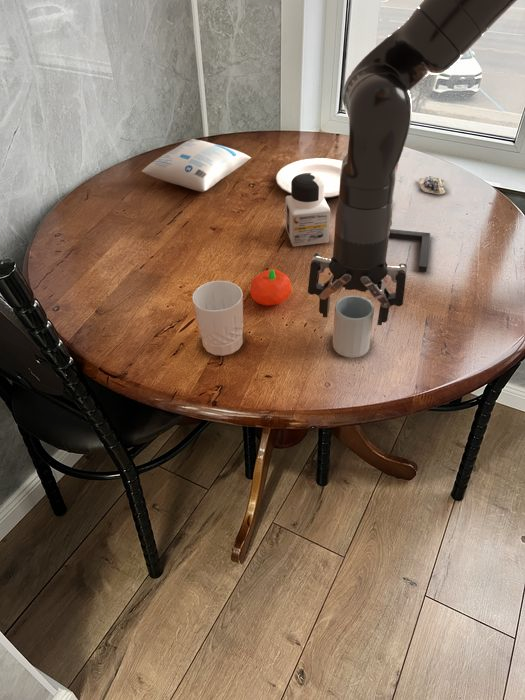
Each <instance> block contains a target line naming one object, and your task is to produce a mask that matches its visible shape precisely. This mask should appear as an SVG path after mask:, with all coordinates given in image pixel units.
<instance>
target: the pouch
mask: <svg viewBox="0 0 525 700" xmlns="http://www.w3.org/2000/svg"><path fill="white" fill-rule="evenodd" d="M251 158H252V157H251V156H249V155H248V154H246V153H244V152H242V151H239V150H236V149H234V148H230V147H228V146H224V145H220V144H216V143H212V142H210V141H209V142H208V141H204V140H200V139H194V138H192V139H188V140H186V141H185V142H182V143H180V144H179V145H178V146H176V147H175V148H173V149H171V150H170V151H168V152H165V153H164V154H162V155H161V156H159V157H157V158H156V159H154V160H153V161H152V162H150V163H149V164H148V165H146V166H145V167H144V168H143V169H142V170H141V173H144V174H146V175H148V176H150V177H152V178H154V179H158V180H161V181H164V182H167V183H170V184H172V185H177V186H181V187H184V188H186V189H190V190H192V191H195V192H196V191H197V192H200V193H204V192H207V191H208V190H209V189H211V188H212V187H214V186H215V185H216V184H217V183H219V182H220V181H221V180H223V179H224V178H225V177H227V176H229V175H231V174H232V173H233V172H234V171H236V170H238V169H239V168H240V167H242V166H243V165H244V164H246V163H247V162H248V161H250V159H251Z"/></svg>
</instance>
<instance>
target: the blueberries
mask: <svg viewBox="0 0 525 700" xmlns="http://www.w3.org/2000/svg"><path fill="white" fill-rule="evenodd" d="M418 184H419V188H420V189H421V191H422V192H424V193H430V194H433V195H438V196H441V195H444V194H445V193H446V190H445V188H444V187H445V182H444V179H442V178H438V177H433V176H430V175H429V176H426V177H424V178H423V177H422V178H421V177H420V178H418Z"/></svg>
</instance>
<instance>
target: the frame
mask: <svg viewBox="0 0 525 700" xmlns="http://www.w3.org/2000/svg"><path fill="white" fill-rule="evenodd" d="M430 236H431V232H425V231H424V232H423V231H422V232H421V231H415V230H403V229H393V228H390V234H389V239H397V240H408V241H416V242H417V241H418V242H420V249H419V250H420V251H419V261H418V269H417V271H418V272H422V273H427V270H428V264H429V263H428V262H429V250H430V238H431V237H430Z"/></svg>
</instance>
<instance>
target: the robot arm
mask: <svg viewBox="0 0 525 700" xmlns="http://www.w3.org/2000/svg"><path fill="white" fill-rule="evenodd" d="M517 1H518V0H423V1H421V3H419V5H418V7H417V8H416V9H415V10H414V11H413V13H412V14H411V15H410V16H409V18H408V19H407V20H406V21H405V22H404V23H403V24H402V25H401V26H400V27H398V28H397V29H396V30H394V31H393V32H392V33H391V34H389V35H388V36H387V37H386V38H385V39H383V40H382V41H381V42H380V43H379V44H377V46H376V47H374V48H373V49H372V50H371V51H369V52H368V54H366V55H365V56H364V57H363V58H362V59H361V61H359V63H358V64H357V65H356V66H355V67H354V68H353V70H352V71H351V72H350V74H349V75H348V77H347V79H346V81H345V83H344V85H343V89H342V93H341V94H342V95H341V101H342V102H341V103H342V106H343V109H344V111H345V114H346V116H347V119H348V122H349V123H348V124H349V125H348V127H349V131H348V144H347V145H348V146H347V153H346V154H345V155H344V157H343V159H342V161H343V162H342V166H341V175H340V188H339V196H338V199H337V205H336V209H335V220H334V237H333V250H332V257H331V258H326V257H322V255H321V253H318V252H317V253H314V254H313V257H312V259H311V262H310V267H309V275H308V286H307V293H308V294H309V295H312V296H314V295H316V296H317V297H318V298H319V302H318V303H319V304H318V312H319V314H321V315H322V318H328V316H329V312H330V305H331V295H332V294H336V292H338V291H339V290H340V289H341V288H344V290H346V291H354V290H356V291H358V292H361V293H366V292H367V291H369V293H370V294H371V296H372V297H373V298H374V300H375V299H377V301H378V302H379V309H378V310H379V311H378V317H377V323H376V325H377V326H380V327H381V326H383V324H384V323H387V322H388V318H389V312H390V308H391V307H392V306H396V307H402V306H403V305H404V300H405V299H404V298H405V291H406V281H407V280H406V279H407V270H408V265H407V264H406V263H399V264H398V266H392V265H388V263H387V256H388V248H389V242H390V241H389V240H390V238H389V234H390V229H392V228H391V227H392V225H393V201H394V194H395V186H396V179H397V173H396V168H397V165H398V166H399V162H400V160H401V158H402V155H403V152H404V148H405V145H406V142H407V139H408V136H409V132H410V127H411V121H412V111H413V110H412V109H413V107H412V103H413V102H412V98H411V97H412V96H411V94H410V91H411V90H412V89H413V88H415V86H416V85H417V84H419V83H420V82H421V81H423V80H424V79H425V78H426V77H427V76H429V75H441V74H443V73H446V72H447V71H448V70H450V69H451V68H452V67H453V66H454V65H455V64H456V63H457V62H459V60H460V59H461V58H462V57H464V55H465V54H466V53H467V52H468V51H469V50H470V49H471V48H472V47H473V46H474V45H475V43H477V42H478V41H479V40H480V39H481V37H482V36H483V35H484V34H486V32H487V31H488V30H489V29H490V28H491V27H492V26H493V25H494V24H495V23H496V22H497V21H498V20H499V19H500V18H501V17H502V16H503V15H504V14H505V13H506V12H507V11H508V10H509V9H510V8H511V7H512V6H513V5H514V4H515V3H516V2H517ZM397 169H398V168H397ZM325 269H328V270H329V272H330V273H331V274H332V275H331V276H330V277H329V279H328V280H327V281H326V282H324V283H320V282H319V281H320V275H321V274H322V273H324V271H325ZM387 276H389V277H390V279H391V281H392V282H393V283H394V284H395V292H392V293H391V291H390V290H389V288H388V287H387V286H386V283H385V281H384V279H385V278H386V277H387Z"/></svg>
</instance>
